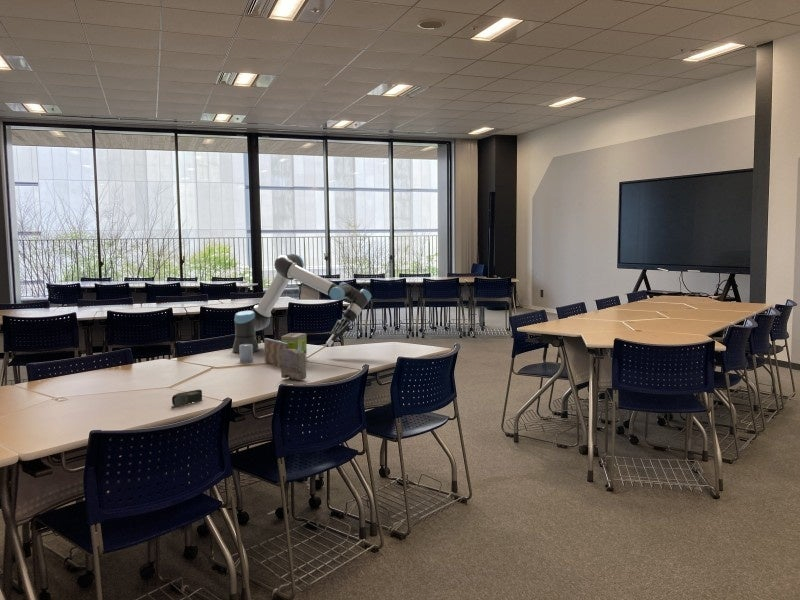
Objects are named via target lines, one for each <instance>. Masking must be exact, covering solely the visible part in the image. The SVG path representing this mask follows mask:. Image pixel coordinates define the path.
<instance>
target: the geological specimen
mask: <svg viewBox="0 0 800 600" xmlns="http://www.w3.org/2000/svg"><path fill="white" fill-rule="evenodd" d="M280 356H281V367H280V371H281V373H280V374H281V378H282V379H284V378H285V379H287V378H289V379H290V378H292V379H291V380H293V379H297V381H303V380H305V379H306V378H307V365H306V360H305V352H303V351H299V350H296V349H282V350H280Z"/></svg>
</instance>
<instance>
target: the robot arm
mask: <svg viewBox="0 0 800 600" xmlns="http://www.w3.org/2000/svg"><path fill="white" fill-rule="evenodd" d="M304 267H305V265H304V260H303V258H302V257H301V256H300V255H298V254H295V253H290V254H281V255H278V256H277V257H276V259H275V261H274V268H275V269H274V270H275V271H276V275H275V276H274V279H273V280H272V282H271V283H270V285H269V287H268V288H267V290H266V291H265V293H264V294H263V297H262V298H261V300H259V301H260V302H259V303H258V304H257V305H254V306H253V308H252V309H251V310H243V311H238V312H236V313H235V314H234V319H233V321H234V335H235V337H234V341H233V345H232V353H235V352H236V354H240V352H239V345H241V344H252V345H253V353H256V352H259V351H258V350H260V347H259V344H258V341H257V339H256V332H258V331H261V330H264V329H266V328H267V327H268V326H269V325H270V323H271V317H272V311H273V309H274V307H275V305H276V304H277V302H278V300H279V299H280V298H281V297H282V294H283V292H284V291H285V290H286V287H287V286H288V285H289V282H291V281H294V280H297V281H298V282H301V283H303V284H305V285H307V286H308V287H310V288H313V289H315V290H317V291H319V292H321V293H323V294H325V295H327V296H329V297H330V298H331V300H333V301H343V300H345V299H347V300H349V301H350V304H349V305H348V306H347V308H346V309H345V310H344V312H343V314H342V315H343V316H342V317H341V319H337V320H336V323H335V324H334V326H333V328H332V329H331V332H330V333H331V335H330V337H329V338H328V340H326V342H325V344H326V345H327V346H328V347H332V345H333V343H334V342H335V341H336V340H337V338H339V337H340V338H341V337H342V336H343V335H344V334H345V333H346V332H347V331H348V330H349V328H351V327H352V326H353V323H352V322H355V321H356V319H357V318H358V316H359V315H360V314H361V312H362V311H363V310H364V308H365V307H366V306H367V305H368V303H369V302H370V301H371V298H372V294H371V292H370V291H368V290H367V289H364V288H362V289H360V290H358V289H356V288H355V287H354V286H352V285H350V284H349V283H347V282H344V281H341V282H340V283H339V285H338V284H336V283H334V282H333V281H331V280H328V279H326V278H324V277H322V276H320V275H318V274H315V273H313V272H311V271H310V270H308V269H305V268H304Z"/></svg>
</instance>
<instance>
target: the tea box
mask: <svg viewBox="0 0 800 600" xmlns="http://www.w3.org/2000/svg"><path fill="white" fill-rule="evenodd" d="M280 341H281V342H285V343H289V345H288V349H296V350H299V351H303V352H305V361H306V360H307V356H308V355H307V351H308V350H307V344H308V343H307V333H305V332H304V333H302V332H289V333H287V334H284V335H281V336H280Z"/></svg>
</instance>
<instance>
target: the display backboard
mask: <svg viewBox="0 0 800 600" xmlns="http://www.w3.org/2000/svg"><path fill="white" fill-rule="evenodd" d="M263 342H264V344H263V345H264V362H265V361H266V362H265V363H267V362H269V364H271V363H272V364H271V365H274V364H275V366H277V365H279V366H278V367H280V366H281V356H280V350H282V349H288V345H289V343H285V342H281V340H275V339H272V338H268V337H264V338H263Z"/></svg>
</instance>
